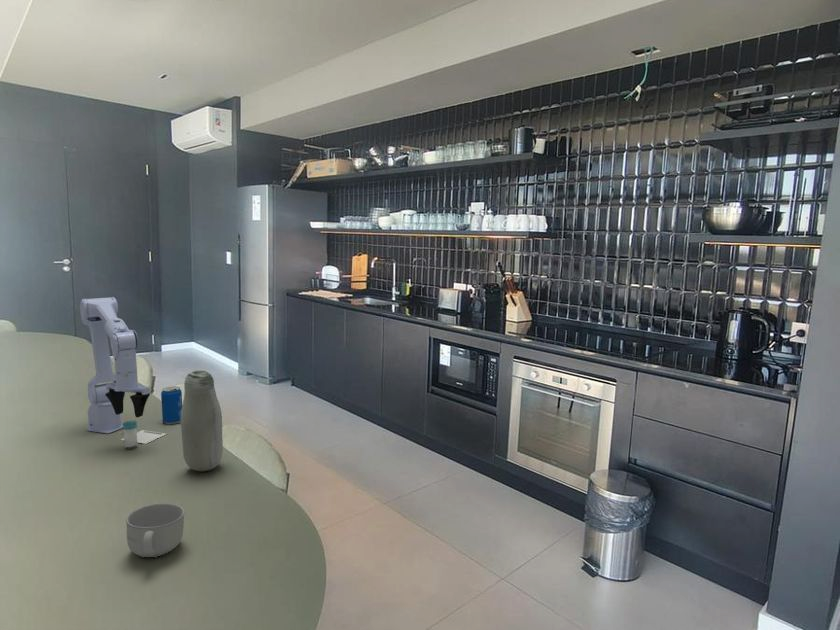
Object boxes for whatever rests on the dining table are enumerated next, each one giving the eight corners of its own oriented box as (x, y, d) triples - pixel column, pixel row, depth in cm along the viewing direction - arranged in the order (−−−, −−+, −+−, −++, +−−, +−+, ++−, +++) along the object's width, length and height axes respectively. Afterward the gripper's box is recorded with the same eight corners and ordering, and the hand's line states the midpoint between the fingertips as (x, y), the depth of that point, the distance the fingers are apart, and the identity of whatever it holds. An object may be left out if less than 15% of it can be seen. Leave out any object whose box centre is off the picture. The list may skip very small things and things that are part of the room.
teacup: (141, 536, 117) (139, 501, 116) (193, 534, 118) (191, 500, 117) (110, 576, 103) (107, 537, 102) (169, 573, 104) (167, 535, 103)
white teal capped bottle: (121, 449, 164) (119, 423, 163) (131, 444, 168) (129, 420, 166) (131, 450, 163) (129, 425, 162) (140, 446, 166) (139, 421, 165)
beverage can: (175, 425, 185) (173, 391, 183) (158, 424, 186) (156, 390, 184) (187, 419, 191) (185, 386, 189) (170, 418, 192) (168, 385, 191)
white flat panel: (120, 440, 171) (120, 439, 171) (142, 431, 179) (142, 429, 179) (145, 444, 168) (145, 443, 168) (167, 434, 176) (167, 433, 176)
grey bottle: (230, 464, 154) (226, 368, 150) (205, 479, 145) (200, 377, 141) (202, 459, 157) (197, 365, 153) (175, 473, 148) (170, 374, 144)
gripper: (95, 372, 160) (99, 416, 162) (134, 376, 156) (137, 421, 158) (115, 367, 167) (118, 409, 169) (153, 371, 163) (156, 414, 164)
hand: (129, 415), depth 164 cm, fingers open, 7 cm apart
